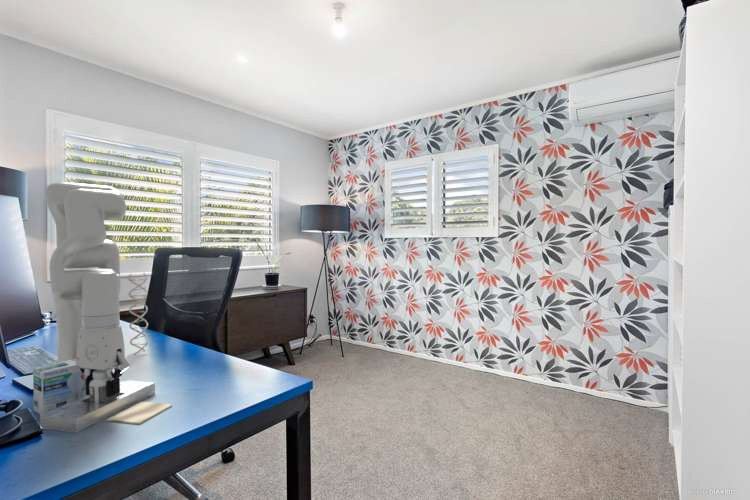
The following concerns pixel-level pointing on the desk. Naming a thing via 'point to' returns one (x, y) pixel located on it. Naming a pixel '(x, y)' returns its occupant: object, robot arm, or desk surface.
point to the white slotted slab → (95, 408)
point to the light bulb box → (57, 385)
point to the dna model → (140, 311)
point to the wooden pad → (139, 413)
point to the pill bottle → (99, 387)
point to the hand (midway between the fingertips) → (103, 393)
